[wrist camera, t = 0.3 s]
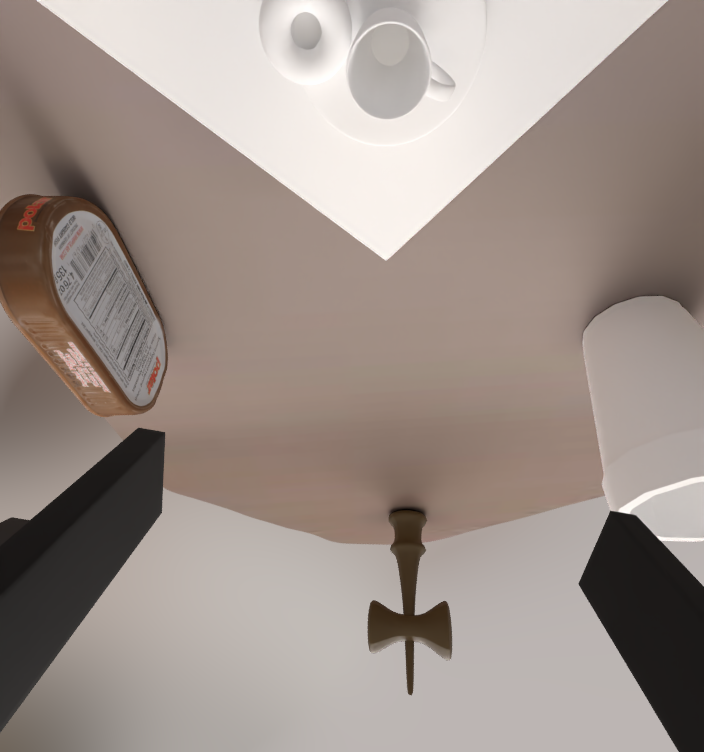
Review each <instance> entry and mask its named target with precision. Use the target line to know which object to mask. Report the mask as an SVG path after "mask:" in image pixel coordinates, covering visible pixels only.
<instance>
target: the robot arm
mask: <svg viewBox="0 0 704 752" xmlns="http://www.w3.org/2000/svg"><path fill="white" fill-rule="evenodd" d="M164 448H165V432H160V431H154V430H148V429H143V428H138V429H136V430H135V431H134V432H133V433H132V434H131V435H129V436H128V437H127V438H126V439H125V440H124V441H123V442H121V443H120V444H119V445H118V446H117V447H115V448H114V449H113V450H112V451H111V452H110V453H108V454H107V455H106V456H105V457H104V458H103V459H102V460H100V461H99V462H98V463H97V464H96V465H94V466H93V467H92V468H91V469H90V470H89V471H87V472H86V473H85V474H84V475H83V476H81V477H80V478H79V479H78V480H77V481H76V482H75V483H73V484H72V485H71V486H70V487H69V488H67V489H66V490H65V491H64V492H63V493H62V494H60V495H59V496H58V497H57V498H56V499H55V500H53V501H52V502H51V503H50V504H49V505H48V506H46V507H45V508H44V509H43V510H42V511H41V512H39V513H38V514H37V515H36V516H35V517H33V518H32V519H31V520H24V519H18V518H9V519H8V520H5V521H3V522H1V523H0V732H1V731H2V729H3V728H4V727H5V726H6V724H7V723H8V721H9V720H10V719H11V717H12V716H13V715H14V713H15V712H16V711H17V709H18V708H19V706H20V705H21V704H22V702H23V701H24V700H25V698H26V697H27V696H28V694H29V693H30V691H31V690H32V688H33V687H34V686H35V685H36V683H37V682H38V681H39V679H40V678H41V676H42V675H43V674H44V672H45V671H46V670H47V668H48V667H49V666H50V664H51V663H52V661H53V660H54V659H55V657H56V656H57V654H58V653H59V652H60V651H61V649H62V648H63V646H64V645H65V644H66V642H67V641H68V640H69V638H70V637H71V636H72V634H73V633H74V631H75V630H76V629H77V627H78V626H79V625H80V623H81V622H82V621H83V619H84V618H85V616H86V615H87V614H88V612H89V611H90V610H91V608H92V607H93V606H94V604H95V603H96V602H97V600H98V599H99V597H100V596H101V595H102V593H103V592H104V591H105V589H106V588H107V587H108V585H109V584H110V582H111V581H112V580H113V578H114V577H115V576H116V574H117V573H118V572H119V570H120V569H121V567H122V566H123V565H124V563H125V562H126V561H127V559H128V558H129V556H130V555H131V554H132V552H133V551H134V550H135V548H136V547H137V546H138V544H139V543H140V542H141V540H142V539H143V537H144V536H145V535H146V533H147V532H148V531H149V529H150V528H151V527H152V525H153V524H154V523H155V521H156V520H157V518H158V517H159V516H160V514H161V513H162V494H163V471H164ZM579 586H580V587H581V589H582V591H583V592H584V594H585V596H586V597H587V599H588V601H589V602H590V604H591V606H592V607H593V609H594V611H595V612H596V614H597V616H598V618H599V619H600V621H601V623H602V624H603V626H604V627H605V629H606V631H607V633H608V634H609V636H610V638H611V639H612V641H613V642H614V644H615V646H616V648H617V649H618V651H619V653H620V654H621V656H622V658H623V659H624V661H625V662H626V664H627V666H628V668H629V669H630V671H631V673H632V674H633V676H634V678H635V679H636V681H637V682H638V684H639V686H640V688H641V689H642V691H643V693H644V694H645V696H646V697H647V699H648V701H649V703H650V704H651V706H652V708H653V710H654V711H655V713H656V715H657V716H658V718H659V720H660V721H661V723H662V725H663V726H664V728H665V730H666V731H667V733H668V735H669V736H670V738H671V740H672V741H673V743H674V744H675V746H676V748H677V750H678V751H679V752H704V586H702V584H701V583H700V582H699V581H698V580H697V579H696V578H695V577H694V576H693V575H692V574H691V573H690V572H689V571H688V570H687V568H686V567H685V566H684V565H683V564H682V563H681V562H680V561H679V560H678V559H677V558H676V557H675V556H674V555H673V554H672V553H671V552H670V551H669V549H668V548H667V547H666V546H665V545H664V544H663V543H662V542H661V541H660V540H659V539H658V538H657V537H656V536H655V535H654V534H653V533H652V531H651V530H650V529H649V528H648V527H647V526H646V525H645V524H644V523H643V522H642V521H641V520H640V519H639V518H638V517H637V516H636V515H633V514H627V513H621V512H616V511H610V513H609V516H608V518H607V520H606V522H605V525H604V527H603V529H602V531H601V534H600V536H599V538H598V541H597V543H596V545H595V547H594V550H593V552H592V554H591V557H590V559H589V561H588V563H587V566H586V568H585V570H584V573H583V575H582V577H581V580H580V582H579Z"/></svg>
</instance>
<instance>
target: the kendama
mask: <svg viewBox="0 0 704 752" xmlns="http://www.w3.org/2000/svg"><path fill="white" fill-rule="evenodd" d="M426 521H427V519H426V517H425V515H424V514H422V513H420V512H416V511H410V510H402V511H397V512H394V513H392V514H391V515H389V522H390V524H391V525H392V526H393V527H394V530H395V541H394V543H393V544H392V545H391V548H390V550H391V551H392V553H393V554H394V555H395V556H396V559H397V563H398V568H399V575H400V582H401V590H402V600H403V613H404V614H398V613H396V612H393V611H391V610H390V609H388V608H387V607H385V606H384V605H382V604H381V603H379V602H377V601H374V600H373V601H372V602H371V603H370V608H369V614H368V644H369V650H370V652H371V653H373V654H374V653H377V652H379V651H381V650H383V649H384V648H386V647H388V646H390V645H392V644H394V643H397V642H402V641H405V650H406V674H407V689H408V694H409V695H412V693H413V679H414V642H419V643H422V644H424V645H427V646H428V647H429V648H431V649H432V650H433V651H435V652H436V653H437V654H438V655H440V656H441V657H442V658H444V659H445V660H447V661H448V660H450V659H451V654H452V627H451V617H450V610H449V606H448V604H447V602H446V601H443V602H441V603H439V604H438V605H436V606H435V607H433V608H432V609H431V610H429V611H428V612H426V613H424V614H421V615H414V613H415V594H416V583H417V582H416V581H417V573H418V565H419V561H420V557H421V556H422V555H423V554H424V553H425V551H426V549H425V547H424V545H423V544H422V542H421V532H422V528H423V526H424V525H425V524H426Z"/></svg>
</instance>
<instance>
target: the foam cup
mask: <svg viewBox="0 0 704 752" xmlns="http://www.w3.org/2000/svg"><path fill="white" fill-rule="evenodd" d="M582 345H583V354H584V360H585V365H586V371H587V377H588V383H589V389H590V395H591V401H592V407H593V413H594V419H595V425H596V431H597V437H598V442H599V448H600V454H601V460H602V466H603V472H604V477H603V482H602V487H603V490H604V493H605V496H606V499H607V502H608V506H609V508H610V511H616V512H621V513H627V514H633V515H636V516H637V517H638V518H639V519H640V520H641V521H642V522H643V523H644V524H645V525H646V526H647V527H648V528H649V529H650V530H651V531H652V533H653V534H654V535H655V536H656V537H657V538H658V539H659V540H660V541H661V540H662V541H704V329H703V327H702V326H701V325H700V324H699V323H698V322H697V321H696V320H695V319H694V318H693V317H692V315H691V314H690V313H689V312H688V311H687V310H686V309H685V308H683V307H682V306H681V305H680V303H679V302H677V301H674V300H672V299H669V298H667V297H664V296H642V297H636V298H633V299H630V300H627V301H623V302H620V303H617V304H614V305H613V306H611V307H610V308H608V309H606V310H605V311H603V312H602V313H600V314H599V315H597V316H596V317H594V319H593V320H592V321H591V322H590V324H589V325H588V326H587V328H586V329H585V330H584V332H583V342H582Z"/></svg>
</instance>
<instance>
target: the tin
mask: <svg viewBox="0 0 704 752" xmlns="http://www.w3.org/2000/svg"><path fill="white" fill-rule="evenodd" d="M0 303H1V304H2V306H3V308H4V310H5V312H6V313H7V315H8V317H9V318H10V319H11V321H12V322H13V323H14V325H15V326H16V327H17V328H18V330H20V332H21V333H22V334H23V335H24V336H25V338H26V339H27V340H28V341H29V342H30V343H31V344H32V346H33V347H34V348H35V349H36V350H37V351H38V352H39V354H40V355H41V356H42V357H43V358H44V360H45V361H46V362H47V363H48V364H49V365H50V367H51V368H52V369H53V370H54V371H55V372H56V373H57V375H58V376H59V377H60V378H61V379H62V380H63V382H64V383H65V384H66V385H67V387H68V388H69V389H70V390H71V391H72V393H73V394H74V395H75V396H76V397H77V399H78V400H79V401H80V402H81V403H82V404H83V405H84V407H85V408H86V409H87V410H88V411H90V412H91V413H93V414H95V415H98V416H101V417H110V416H114V415H137V414H142V413H145V412H147V411H148V410H150V409H151V408H152V407H153V406H154V405H155V403H156V399H157V397H158V395H159V392H160V390H161V386H162V383H163V379H164V376H165V373H166V370H167V362H168V353H167V342H166V336H165V332H164V328H163V325H162V322H161V320H160V317H159V315H158V313H157V311H156V309H155V307H154V305H153V303H152V301H151V299H150V297H149V295H148V293H147V291H146V289H145V286H144V284H143V282H142V280H141V278H140V276H139V274H138V272H137V270H136V268H135V266H134V264H133V262H132V260H131V258H130V256H129V254H128V252H127V250H126V248H125V246H124V244H123V242H122V240H121V238H120V236H119V234H118V232H117V230H116V229H115V227H114V225H113V224H112V222H111V221H110V219H109V218H108V217H107V216H106V215H105V213H104V212H103V211H102V210H101V209H99V208H98V207H97V206H96V205H94V204H93V203H91V202H89V201H87V200H85V199H82V198H78V197H70V196H40V195H34V194H28V195H22V196H19V197H16V198H14V199H12V200H11V201H9V202H8V203H7V204H6V205H5V206H4V207H3V208H2V209H1V211H0Z"/></svg>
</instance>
